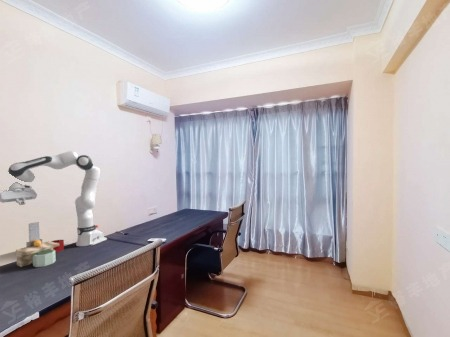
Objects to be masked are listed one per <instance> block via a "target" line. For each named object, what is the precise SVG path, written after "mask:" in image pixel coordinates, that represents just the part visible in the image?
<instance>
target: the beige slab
mask: <svg viewBox="0 0 450 337" xmlns="http://www.w3.org/2000/svg"><path fill="white" fill-rule="evenodd" d="M57 246H59V243H54V242H51V241H49V240H48V241H44V242H42V244H41V245H40V246H38V247H36V246H31V247H27V246H26V247H22V248H19V249H18V248H17V249H15V251H16V252H15V254H16V255H15V256H16V266H18V267H21V268H22V267H25V266H29V265H31V263H32V264H33V254H35V253H36V252H40V251H43V250H51V249H52V250H53V248H54V247H57Z"/></svg>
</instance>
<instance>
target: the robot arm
mask: <svg viewBox="0 0 450 337" xmlns="http://www.w3.org/2000/svg"><path fill="white" fill-rule="evenodd" d="M73 165H76V166H77V167H78V168H79V169H81V170H83V171H85V173H84V177H83V180H82V184H81V192H80V196H77V198H76V199H75V201H74V204H75V211H76V216H77V217H76V218H77V228H76V231H77V232H76V233H77V240H76V243H75V246H76V247H87V246H94V245H96V244H99V243H102V242H104V241H107V240H108V238H107V237H106V236H104V232H102V231H100V230H99V229H98V228H99V225H98V224H94V223H95V222H94V214H93V210H92V209H93V208H95V206H96V197H97V191H98V190H97V189H98V185H99V182H100V178H101V168H99V167H98V166H95V165H94V163H93V160H92V159H91V157H90V156H89V155H87V154H82V155H79V154H78V153H77V152H76V151H74V150H70V151H66V152H63V153H62V152H61V153H59V154H56V155H53V156H48V155H47V156H46V155H45V156H41V157H37V158H34V159H33V158H32V159H30V160H26V161H20V162H15V163H13V164H11V165H10V166H9V168H8V170H7V172H9V174H11V175H12V176H14V177H15V178H17V179H19V180H21V181H24V182H30V183H32V182H33V181H34V180H35V179H36V175H35V174H34V173H33V171H31V170H32V169H36V168H39V167H48V168H51V169H54V170H63V169H65V168H67V167H69V166H73ZM34 175H35V176H34ZM2 191H3V192H1V193H0V203H2V204H3V203H11V202H15V203H17V204H18V205H19V206H23V205H26V201H29V200H35V199H37V197H38V194H37V192H36V191H35V189H33V188H32V186H31V185H28V184H25V185H22V184H20V183H18V182H15V183H13V184H12V185H11V186H10V187H9V190H8V191H7V190H2Z"/></svg>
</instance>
